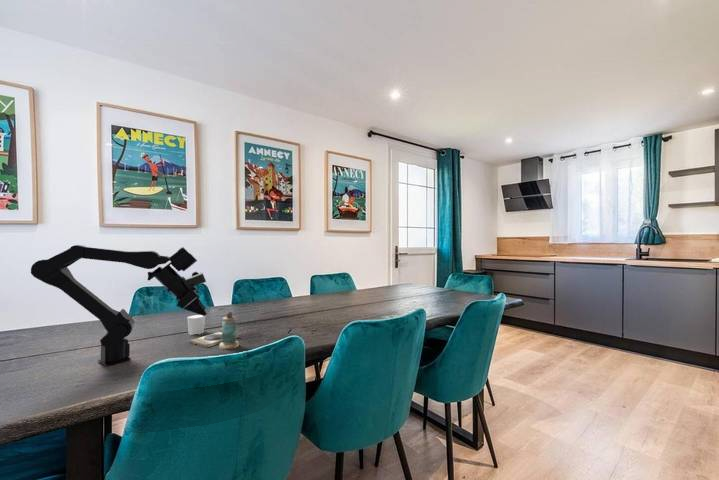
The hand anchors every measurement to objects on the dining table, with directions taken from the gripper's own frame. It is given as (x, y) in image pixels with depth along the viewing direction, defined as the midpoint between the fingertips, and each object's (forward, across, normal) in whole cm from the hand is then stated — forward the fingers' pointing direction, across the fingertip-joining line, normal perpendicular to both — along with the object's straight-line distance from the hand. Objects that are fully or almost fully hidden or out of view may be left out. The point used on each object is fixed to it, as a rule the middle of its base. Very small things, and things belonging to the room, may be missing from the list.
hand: (204, 312), depth 113 cm
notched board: (+12, +9, +6) cm, 16 cm away
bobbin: (+15, -2, +2) cm, 15 cm away
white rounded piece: (+9, +23, +10) cm, 26 cm away
